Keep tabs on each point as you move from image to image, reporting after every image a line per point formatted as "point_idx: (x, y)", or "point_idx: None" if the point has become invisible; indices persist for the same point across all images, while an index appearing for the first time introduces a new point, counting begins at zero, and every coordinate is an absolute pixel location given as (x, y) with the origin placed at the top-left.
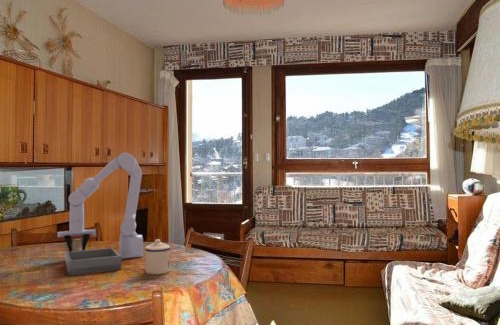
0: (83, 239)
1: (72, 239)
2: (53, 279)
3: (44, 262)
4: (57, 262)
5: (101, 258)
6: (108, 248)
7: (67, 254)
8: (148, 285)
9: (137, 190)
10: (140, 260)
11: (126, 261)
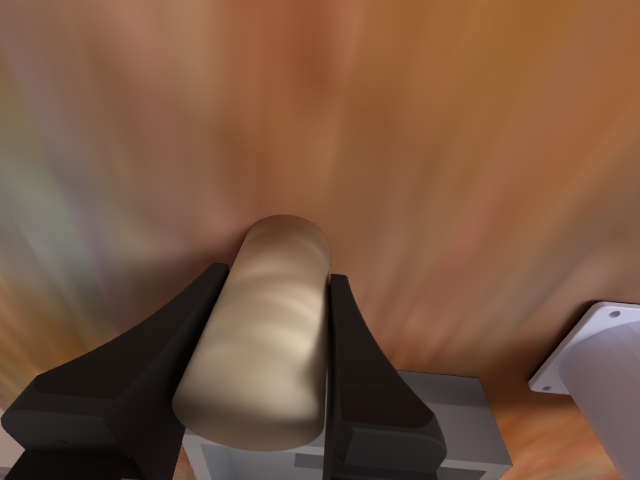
0: (324, 461)
1: (186, 385)
2: (188, 468)
3: (52, 237)
4: (153, 281)
5: None
6: (472, 467)
7: (200, 472)
8: None
9: None
10: (573, 433)
11: (509, 421)
